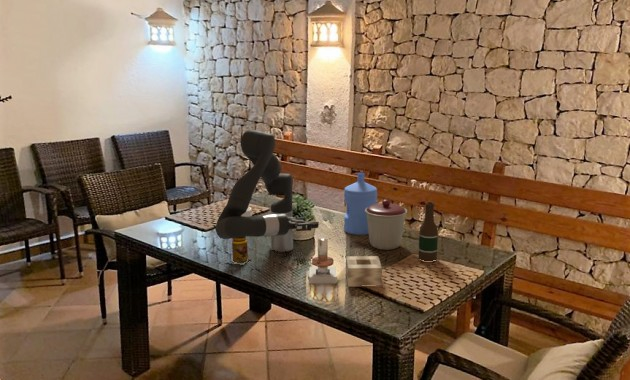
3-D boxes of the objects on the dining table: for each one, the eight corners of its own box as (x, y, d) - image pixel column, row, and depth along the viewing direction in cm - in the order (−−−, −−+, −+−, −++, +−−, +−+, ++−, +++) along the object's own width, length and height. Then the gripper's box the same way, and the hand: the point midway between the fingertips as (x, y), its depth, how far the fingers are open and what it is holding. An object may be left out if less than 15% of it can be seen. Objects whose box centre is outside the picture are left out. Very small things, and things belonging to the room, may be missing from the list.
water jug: (382, 228, 259) (383, 172, 252) (367, 237, 246) (368, 178, 239) (353, 223, 267) (354, 169, 260) (338, 232, 254) (338, 174, 247)
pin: (312, 282, 196) (311, 243, 192) (312, 274, 204) (311, 236, 200) (333, 282, 196) (333, 243, 192) (333, 273, 204) (333, 236, 200)
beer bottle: (433, 264, 212) (435, 206, 207) (414, 260, 216) (416, 203, 211) (439, 258, 219) (442, 202, 213) (421, 255, 223) (424, 199, 217)
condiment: (244, 266, 213) (243, 237, 210) (225, 263, 215) (223, 235, 212) (251, 259, 219) (250, 231, 217) (233, 257, 222) (231, 230, 219)
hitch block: (348, 286, 192) (348, 268, 190) (346, 273, 204) (346, 256, 202) (381, 286, 192) (381, 267, 190) (377, 273, 204) (377, 256, 202)
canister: (371, 237, 245) (372, 193, 241) (410, 242, 239) (411, 196, 234) (359, 250, 229) (359, 202, 224) (400, 255, 222) (401, 206, 218)
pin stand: (309, 283, 195) (309, 277, 194) (309, 273, 205) (309, 266, 204) (336, 283, 195) (336, 276, 194) (335, 272, 205) (335, 266, 204)
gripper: (284, 217, 178) (323, 215, 187) (263, 211, 190) (301, 209, 199) (282, 239, 179) (322, 236, 188) (262, 231, 191) (300, 228, 200)
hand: (311, 222), depth 194 cm, fingers open, 8 cm apart
